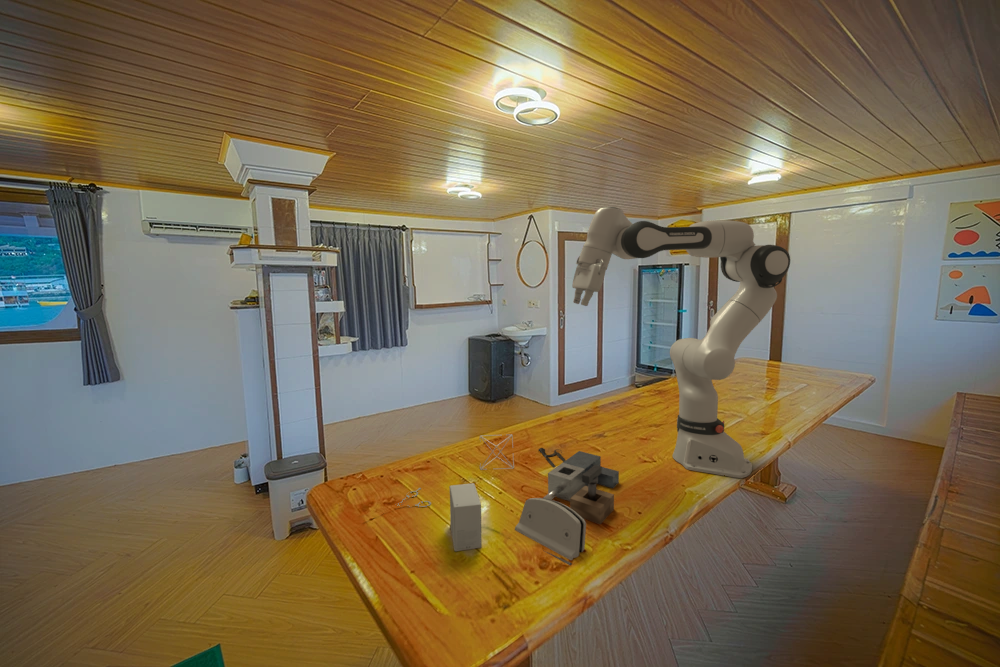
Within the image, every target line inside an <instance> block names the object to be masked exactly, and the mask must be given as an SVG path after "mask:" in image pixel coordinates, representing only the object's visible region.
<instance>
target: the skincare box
mask: <svg viewBox="0 0 1000 667" xmlns="http://www.w3.org/2000/svg"><path fill="white" fill-rule="evenodd" d="M449 505H450V506H449V508H450V513H449V514H450V531H451V533H450V534H451V538H452V544H453V549H454V552H460V551H465V550H473V549H479V548H482V547H483V545H482V542H483V541H482V504H481V499H480V497H479V494H478V490H477V488H476V485H475V483H473V482H472V483H464V484H462V483H461V484H453V485H449Z"/></svg>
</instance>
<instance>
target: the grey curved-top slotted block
mask: <svg viewBox="0 0 1000 667" xmlns="http://www.w3.org/2000/svg"><path fill="white" fill-rule="evenodd" d="M522 508H523V509H522V511H521V515H520V518H519V520H518V523H517V524H516V526H515V527H514V531H515V532H517V533H519V534H521V535H523V536H525V537H527V538H529V539H531V540H533V541H534V542H536V543H538V544H540V545H542V546H544V547H546V548H547V549H549V550H551V551H553V552H555V553H557V554H558V555H560V556H561V557H564V558H566V559H567V560H566V559H563V558H561V557H559V556H557V555H554V554H553V553H550V552H548V551H545V550H544V552H545V553H547V554H548V555H550V556H552V557H554V558H555V559H557V560H559V561H561V562H563V563H564V564H567V565H568V566H572V565H573V563H572V562H570V561H573V559H574V558H578V557H580V554H581V553H583V552H584V551H585V546H586V532H587V530H586V529H587V521H586V519H584V518H582V517H581V516H580V515H579V514H577V513H576V512H575V511H574V510H572V509H571V508H570V506H567V505H565V504H564V503H562V502H559V501H556V500H554V499H552V500H550V499H546V498H543V497H533V498H527V500H525V501H524V505H523V507H522ZM568 560H570V561H568Z"/></svg>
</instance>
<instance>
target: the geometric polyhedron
mask: <svg viewBox="0 0 1000 667" xmlns="http://www.w3.org/2000/svg"><path fill="white" fill-rule="evenodd" d="M493 436H494V437H495V436H501V434H485V435H483V434H482V435H479V438H480V439H482V441H483V442H484V444H485V445H486V446H487V447H488V448H489V449H490V450H491V453H490V454H489V455H488V457H487V458H486V459H485V461H484V462H483V464H482V465H481V466H480V467H479V469H480V470H481V471H482V470H486V468H485V467H486V466H487V465H489V464H490V463H491V462H492V461H494V460H495V459H496V458H498V459H499V460H500V459H501V461H502V462H503V463H505V464H506V465H508V466H509V467H506V468H505V467H504V468H503V467H501V468H500V467H499V468H494V470H508V469H512V470H513V469H514V468H515V461H514V460H515V458H514V457H515V456H514V454H512V462H513V464H512V463H511V462H510V461H509V459H507V457H506V456H505V455H504V454H503V452H502V451H503V449H504V448H505V446H506V445H507V443H509V440H510V439H511V441H512V442H511V443H512V444H511V445H512V446H511V447H514V441H513V440H514V438H513V436H514V435H513V434H507V436H508V437H507V438H505V439H503V440H502V441H501V442H500V443H498V444H497V445H496V444H494V443H493V442H491V441H489V440H488V439H487V438H485V437H493ZM486 441H487V442H488V443H490V444H492V445H493V446H494V449H493V450H492V448H491V447H490V446H489V445H488V444H487V442H486ZM505 441H506V442H505ZM504 442H505V444H504V445H503V447H502V448H501V449H500V448H499V447H498V446H499V445H501V444H502V443H504ZM496 448H497V450H498V451H499V452H498V454H496V453H495V452H494V451H495V450H496ZM492 454H493V455H494V456H495V457H494V458H492V460H490V461H488V459H489V458H490V456H491V455H492ZM500 454H501V455H502V456H503V457H504V459H506V461H507V462H506V461H505V460H503V459H502V458H501V457H498V456H499V455H500ZM487 461H488V462H487Z"/></svg>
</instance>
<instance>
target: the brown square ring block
mask: <svg viewBox="0 0 1000 667" xmlns="http://www.w3.org/2000/svg"><path fill="white" fill-rule="evenodd" d="M569 508H571V509H572V510H574V511H575V512H576V513H577V514H579V515H580V516H581V517H582V518H583V519H584V520H585V521H586V520H587V521H590V522H593V523H595V524H598V525H602V523H603V522H604V521H605V520H606V519H607V518H608V517H609V516H610V515H611V513H613V511H614V510H615V494H614V493H611V492H607V491H603V490H601V489H599V488H596V502H595V501H592V500H589V499H588V486H584V487H583V488H582V489H580V490H579V491H578V492H577V493H576V494H575V495H574V496H572V497H571V498H570V501H569Z"/></svg>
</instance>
